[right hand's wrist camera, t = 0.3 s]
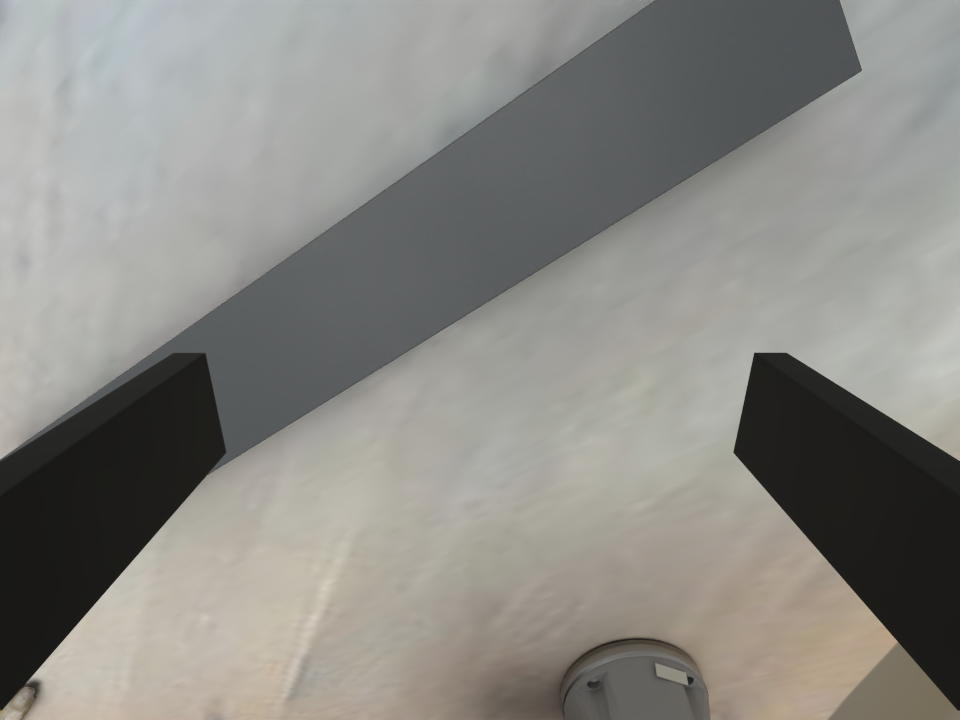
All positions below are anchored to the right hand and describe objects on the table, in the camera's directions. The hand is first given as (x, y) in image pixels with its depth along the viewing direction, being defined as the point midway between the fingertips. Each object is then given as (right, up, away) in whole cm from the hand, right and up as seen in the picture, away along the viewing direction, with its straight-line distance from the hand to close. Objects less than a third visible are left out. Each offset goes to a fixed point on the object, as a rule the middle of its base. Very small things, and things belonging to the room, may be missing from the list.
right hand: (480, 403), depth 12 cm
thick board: (-10, +6, +27) cm, 29 cm away
